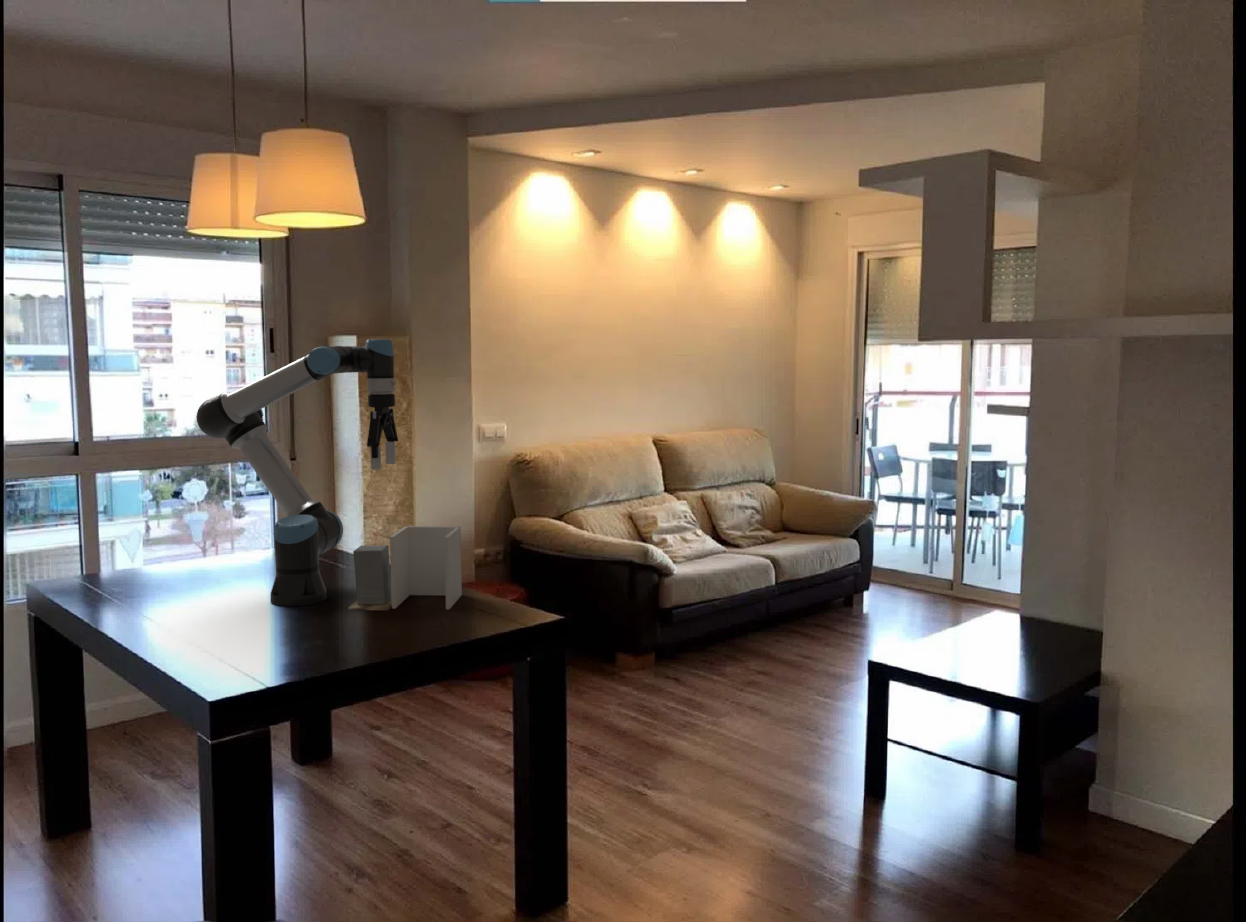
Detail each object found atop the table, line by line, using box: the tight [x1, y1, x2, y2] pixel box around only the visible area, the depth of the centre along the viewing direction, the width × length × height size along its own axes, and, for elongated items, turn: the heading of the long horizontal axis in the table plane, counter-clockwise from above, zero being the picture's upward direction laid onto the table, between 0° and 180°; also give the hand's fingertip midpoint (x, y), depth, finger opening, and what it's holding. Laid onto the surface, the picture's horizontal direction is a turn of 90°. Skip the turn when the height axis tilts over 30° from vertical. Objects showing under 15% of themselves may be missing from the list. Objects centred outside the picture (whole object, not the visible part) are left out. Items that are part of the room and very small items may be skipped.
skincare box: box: [352, 544, 392, 605], centre depth 279 cm, size 8×7×16 cm
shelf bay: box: [389, 525, 463, 610], centre depth 282 cm, size 16×16×20 cm
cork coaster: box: [347, 600, 392, 611], centre depth 280 cm, size 11×12×1 cm
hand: (383, 466), depth 291 cm, fingers open, 13 cm apart
